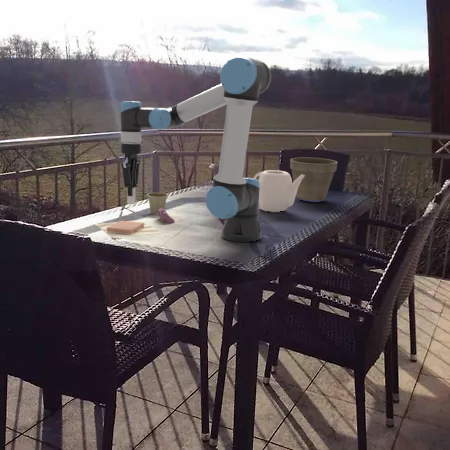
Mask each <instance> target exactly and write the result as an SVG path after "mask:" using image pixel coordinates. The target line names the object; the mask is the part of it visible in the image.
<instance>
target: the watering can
mask: <svg viewBox="0 0 450 450" xmlns="http://www.w3.org/2000/svg"><path fill="white" fill-rule="evenodd" d="M304 176H305V175H300V176H299V177H298V178H297V179H296V180H295V181H294V180H293V177H291V174H290V173H289V172H287V171H284V170H278V169H277V170H275V169H267V170H264V171H259V172H257V173H256V174H254V176H253V177H252V178H253V179H257V177H258V180H259V183H260V191H259V206H258V207H259V208H260V210H262V211H263V212H268V211H269V212H270V213H281V212H280V211H283V212H284V210H285V211H286V210H287V208H289V207H290V208H291V207H292V206H293V205H294V202H295V200H296V198H297V195H296V193H297V190H298V187H299V185H300V183H301V180H302V179H303V178H304Z"/></svg>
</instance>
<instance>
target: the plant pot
mask: <svg viewBox="0 0 450 450" xmlns="http://www.w3.org/2000/svg"><path fill="white" fill-rule="evenodd" d="M289 161H290V165H289V168H290V169H291V173H292V174H291V175H292V181H293V182H294V181H295V180H296V179H297V178H298V177H299V176H300V175H305V176H304V178H303V179H302V180H301V183H300V185H299V187H298V190H297V193H296V198H299V199H303V200H322V199H325V200H326V198H327V195H328V191H329V189H330V187H331V183H332V181H333V178H334V174H335V173H336V172H337V170H338V169H337V168H338V161H337V160H333V159H329V158H322V157H321V158H320V157H294V158H293V157H292V158H290V160H289Z"/></svg>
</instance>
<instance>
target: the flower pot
mask: <svg viewBox="0 0 450 450" xmlns="http://www.w3.org/2000/svg"><path fill="white" fill-rule="evenodd" d="M146 196H147V199H148V203H149V204H148V205H149V212H150V214H151V215H154V216H157V210H158V209H161V208H162V209H165V210H166V203H167V199H168V197H169V194H168V193H164V192H149V193H147V194H146Z"/></svg>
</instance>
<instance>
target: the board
mask: <svg viewBox="0 0 450 450" xmlns="http://www.w3.org/2000/svg"><path fill="white" fill-rule="evenodd" d="M117 222H118V221H115V222H104V223H95V224H94V225H95V226H96V227H97V228H99V229H100V230H101V231H103V232H104V233H106V234H107V235H108V236H111V237H110V238H111V239H112V240H113V241H114V240H115V241H116V239H118V240H120V238H127V237H135V236H145V235H153V234H162V232H161V231H160V230H158V229H156V228H154V227H152V226H151V225H149V224H147V223H146V222H144V221H142V220H138V219H137V220H128V222H138V223H144V227H143V228H141V229H140V230H138V231H136V232H135V233H133V234H124V233H115V232H107V227H109V226H111V225H113V224H115V223H117Z"/></svg>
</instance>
